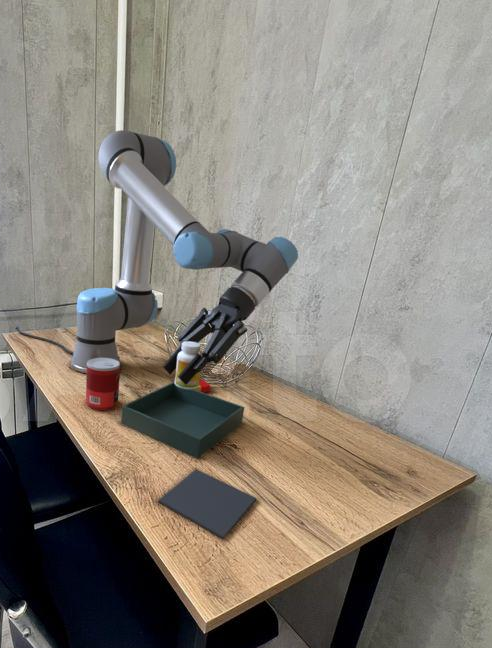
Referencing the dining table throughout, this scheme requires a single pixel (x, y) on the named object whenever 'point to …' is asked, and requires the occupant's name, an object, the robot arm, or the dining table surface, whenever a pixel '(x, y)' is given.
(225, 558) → the dining table surface
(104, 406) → the canned food
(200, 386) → the popsicle
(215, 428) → the dark green tray
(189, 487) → the mat
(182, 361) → the supplement bottle
